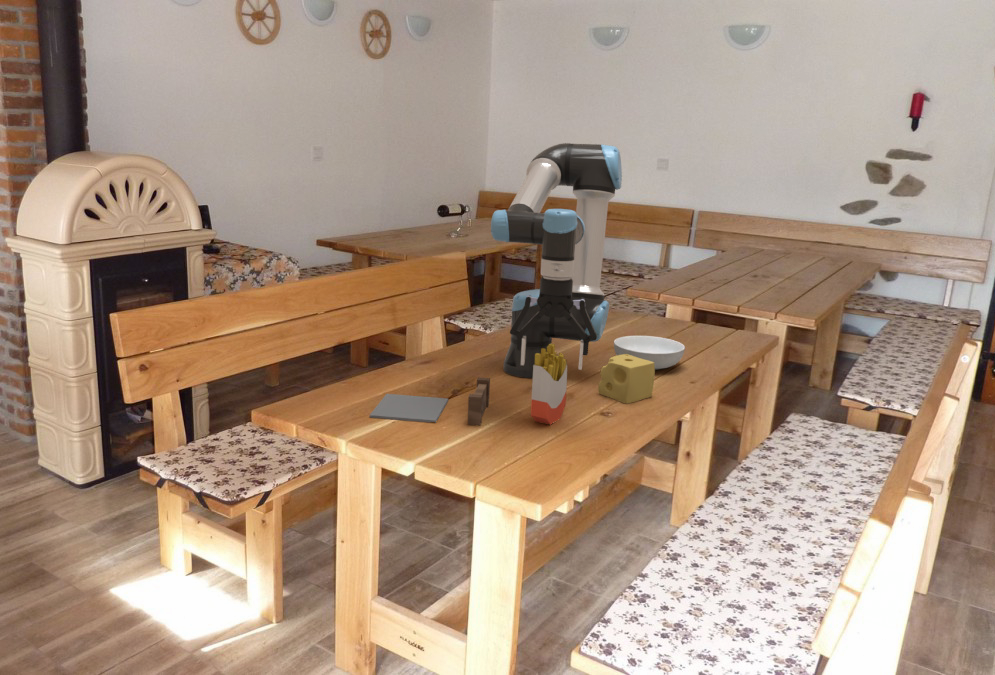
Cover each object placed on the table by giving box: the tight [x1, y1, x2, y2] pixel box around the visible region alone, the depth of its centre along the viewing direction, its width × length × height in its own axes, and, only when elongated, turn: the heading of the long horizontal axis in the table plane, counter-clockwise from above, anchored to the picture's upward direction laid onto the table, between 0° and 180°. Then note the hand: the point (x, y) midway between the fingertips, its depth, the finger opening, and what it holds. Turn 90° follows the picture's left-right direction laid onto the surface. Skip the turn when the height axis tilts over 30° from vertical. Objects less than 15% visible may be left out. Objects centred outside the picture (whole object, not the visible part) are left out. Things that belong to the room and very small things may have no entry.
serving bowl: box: [613, 335, 686, 371], centre depth 247 cm, size 21×21×7 cm
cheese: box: [597, 354, 656, 405], centre depth 219 cm, size 10×11×10 cm
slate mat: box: [369, 393, 449, 424], centre depth 204 cm, size 16×16×1 cm
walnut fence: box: [467, 376, 491, 427], centre depth 201 cm, size 15×3×7 cm, turn 173°
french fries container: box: [530, 343, 568, 426], centre depth 198 cm, size 5×11×18 cm, turn 151°
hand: (551, 366), depth 196 cm, fingers open, 13 cm apart
